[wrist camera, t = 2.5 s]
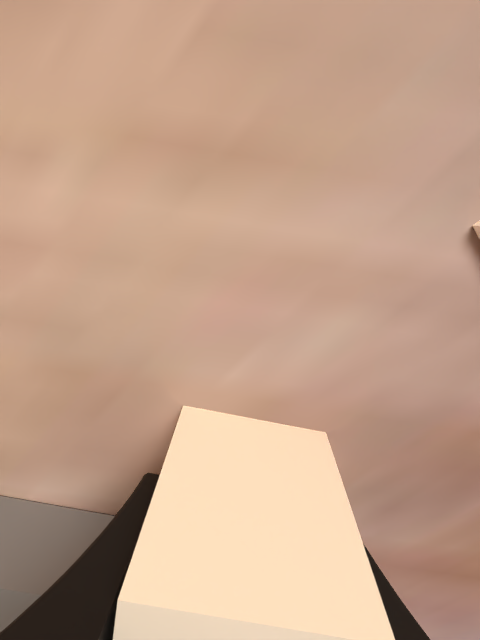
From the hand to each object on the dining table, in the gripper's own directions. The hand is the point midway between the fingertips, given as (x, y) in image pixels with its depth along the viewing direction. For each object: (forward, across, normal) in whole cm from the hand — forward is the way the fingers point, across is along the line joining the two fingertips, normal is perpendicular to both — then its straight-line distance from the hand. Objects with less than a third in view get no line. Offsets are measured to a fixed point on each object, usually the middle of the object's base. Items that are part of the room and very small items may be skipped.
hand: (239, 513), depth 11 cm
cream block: (+2, 0, 0) cm, 2 cm away
